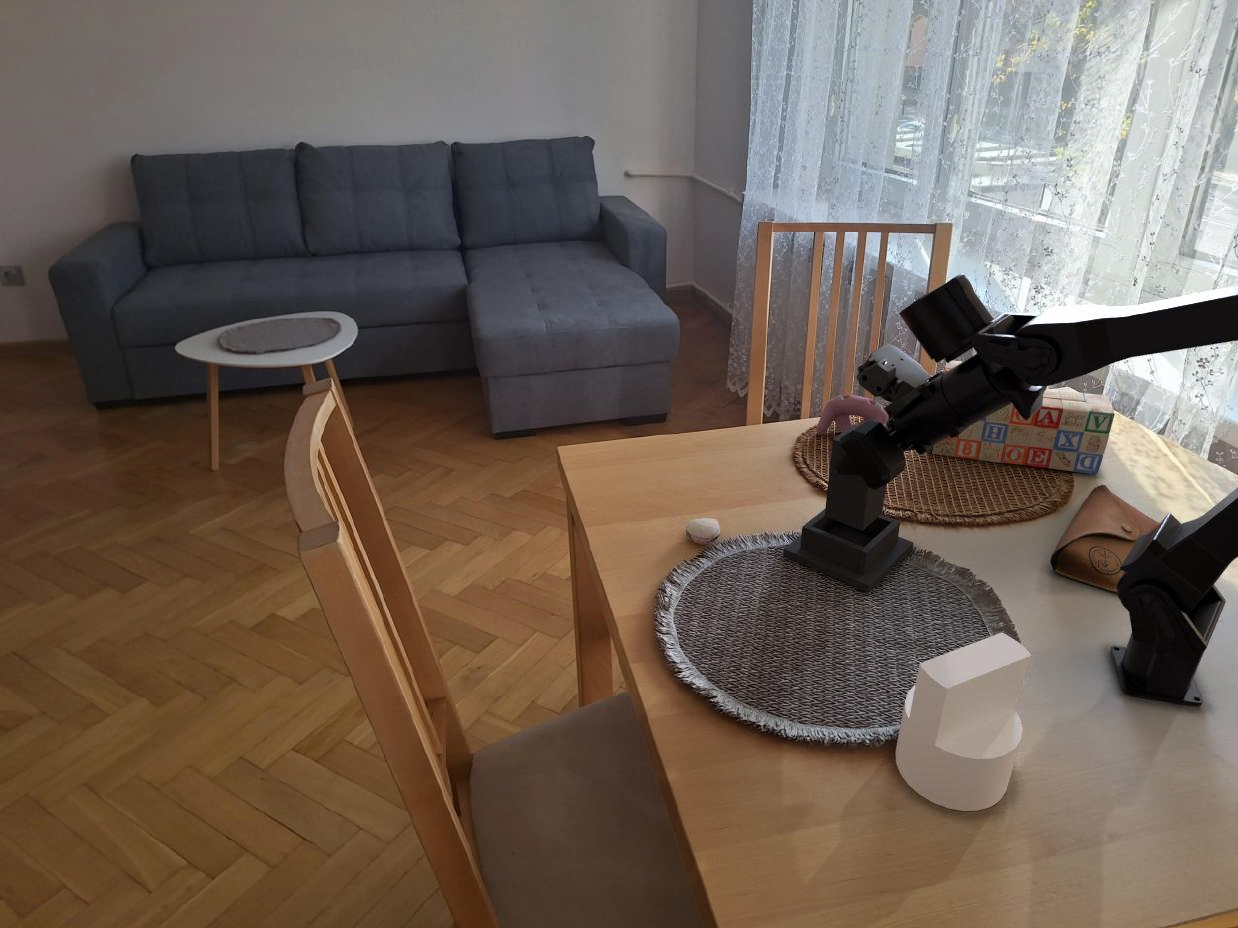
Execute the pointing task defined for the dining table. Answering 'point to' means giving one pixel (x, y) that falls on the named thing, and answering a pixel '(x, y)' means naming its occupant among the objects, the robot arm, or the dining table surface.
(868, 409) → the video game controller
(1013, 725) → the cylinder with rectangular tab
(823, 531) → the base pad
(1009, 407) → the stack of blocks
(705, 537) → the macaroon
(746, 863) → the dining table surface
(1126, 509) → the sunglasses case
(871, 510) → the black pad block
